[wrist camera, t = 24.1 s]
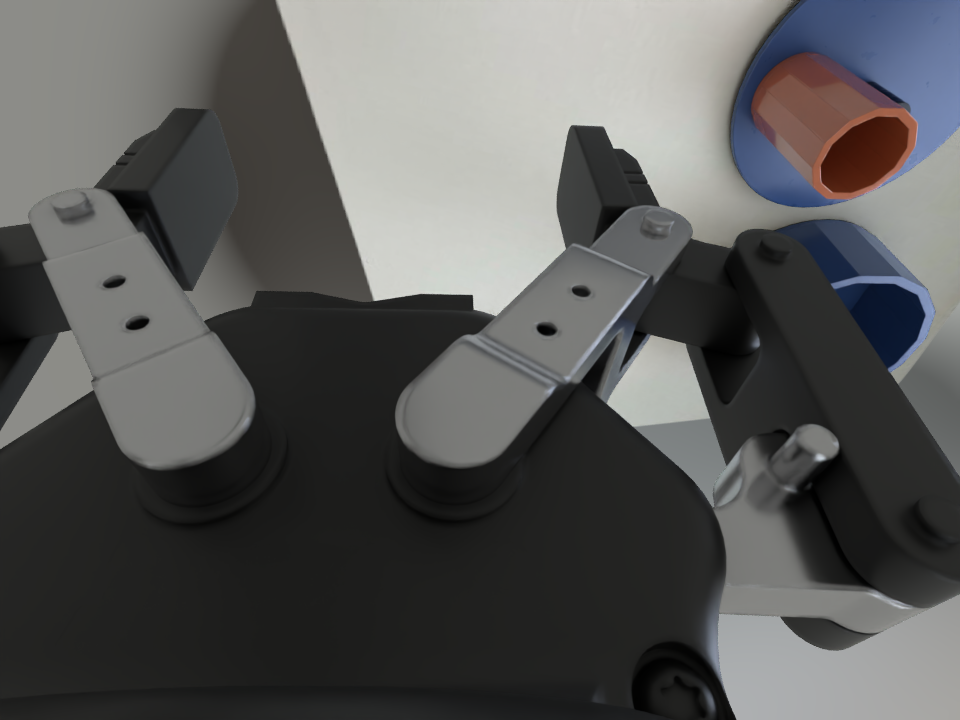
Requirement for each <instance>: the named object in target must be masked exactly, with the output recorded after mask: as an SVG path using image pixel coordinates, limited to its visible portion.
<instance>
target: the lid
mask: <svg viewBox="0 0 960 720" xmlns="http://www.w3.org/2000/svg"><path fill="white" fill-rule="evenodd" d="M805 52H815V53H819V54H822V55H826V56H828V57H829V58H831V59H832V60H834V61H835V62H837V63H838V64H840V65H841V66H843V67H844V68H846V69H847V70H848V71H850V72H851V73H853V74H854V75H856V76H857V77H859V78H860V79H862V80H863V81H865V82H866V83H868V84H869V85H871V86H872V87H874V88H875V89H877V90H878V91H880V92H881V93H883V94H884V95H885V96H887V97H888V98H890V99H891V100H893V101H894V102H896V103H897V104H899V105H900V106H902V107H903V108H905V109H906V110H907V111H908V112H909V113H910V115H911V116H912V117H913V118H914V119H915V120H916V121H917V122H918V130H917V140H916V146H915V148H914V150H913V151H912V153H911V154H910V156H909V157H908V159H907V160H906V162H905V163H904V165H903V166H902V168H901V169H900V170H899V171H898V172H897V173H896V174H894V175H893V176H892V177H891V178H889V179H888V180H887V181H886V182H884V183H883V184H882V185H881V186H879V187H878V188H880V187H882V186H883V185H885V184H887V183H889V182H891V181H893V180H895V179H896V178H898V177H899V176H901V175H902V174H904V173H906V172H907V171H909V170H910V169H912V168H913V167H914V166H916V165H917V164H918V163H920V162H921V161H923V160H924V159H925V158H926V157H928V156H929V155H930V154H931V153H932V152H934V151H935V150H936V149H937V148H938V147H939V146H941V145H942V144H943V143H944V142H945V141H946V140H947V139H948V138H949V137H950V136H951V135H952V134H953V133H954V132H955V131H956V130H957V129H958V128H959V126H960V0H801V1H800V2H799V3H798V4H797V5H796V6H795V7H794V8H793V9H792V10H791V11H790V12H789V13H788V14H787V15H786V16H785V17H784V18H783V20H782V21H781V22H780V23H779V25H778V26H777V27H776V28H775V29H774V31H773V32H772V33H771V34H770V36H769V37H768V39H767V40H766V41H765V43H764V44H763V46H762V47H761V49H760V50H759V52H758V53H757V55H756V57H755V59H754V60H753V62H752V64H751V66H750V67H749V69H748V71H747V73H746V76H745V78H744V80H743V83H742V85H741V87H740V90H739V93H738V96H737V99H736V102H735V105H734V111H733V116H732V121H731V148H732V154H733V157H734V161H735V164H736V166H737V168H738V171H739V173H740V174H741V176H742V177H743V179H744V180H745V181H746V183H747V184H748V185H749V186H750V187H751V188H752V189H753V190H754V191H755V192H756V193H758V194H759V195H761V196H762V197H764V198H766V199H768V200H770V201H772V202H775V203H777V204H782V205H786V206H792V207H819V206H826V205H832V204H836V203H840V202H844V201H848V199H826V198H825V197H824V196H822V195H821V194H820V193H819V192H818V191H816V190H815V189H814V188H813V187H812V186H811V185H810V184H809V183H808V182H807V181H806V180H805V179H804V177H803V176H802V175H801V174H800V173H799V172H798V171H797V170H796V169H795V168H794V167H793V166H792V165H791V164H790V163H789V162H788V160H787V159H786V158H785V157H784V156H783V155H782V154H781V153H780V152H779V151H778V150H777V149H776V148H775V147H774V146H773V144H772V143H771V142H770V141H769V140H768V139H767V138H766V137H765V136H764V135H763V134H762V133H761V132H760V131H759V130H758V129H757V127H756V126H755V123H754V122H753V119H752V115H751V104H752V99H753V96H754V93H755V91H756V89H757V87H758V85H759V84H760V82H761V81H762V79H763V78H764V77H765V76H766V75H767V73H768V72H769V71H770V70H771V69H772V68H774V67H775V66H776V65H777V64H779V63H780V62H782V61H783V60H785V59H787V58H789V57H791V56H793V55H796V54H799V53H805ZM878 188H877V189H878ZM875 190H876V189H875ZM870 192H871V191H870ZM867 193H869V192H867ZM867 193H865V194H867ZM862 195H864V194H862ZM862 195H860V196H862ZM857 197H859V196H857ZM855 198H856V197H855ZM852 199H853V198H852ZM849 200H850V199H849Z"/></svg>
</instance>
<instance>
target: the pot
mask: <svg viewBox="0 0 960 720" xmlns="http://www.w3.org/2000/svg"><path fill="white" fill-rule="evenodd" d="M775 232H779V233H782V234H784V235H787V236H789V237H791V238H793V239H795V240H796V241H798V242H799V243H801V244H802V245H803V246H804V247H805V248H806V249H807V250H808V251H809V252H810V254H811V255H812V257H813V258H814V260H815V261H816V263H817V264H818V266H819V267H820V269H821V270H822V272H823V273H824V275H825V276H826V278H827V279H828V281H829V282H830V284H831V285H832V287H833V288H834V290H835V291H836V293H837V294H838V296H839V297H840V299H841V300H842V302H843V303H844V305H845V306H846V308H847V309H848V311H849V312H850V314H851V315H852V317H853V318H854V320H855V321H856V323H857V324H858V326H859V327H860V329H861V330H862V332H863V333H864V335H865V336H866V338H867V339H868V341H869V342H870V343H871V345H872V346H873V348H874V349H875V351H876V352H877V354H878V355H879V357H880V358H881V360H882V361H883V363H884V364H885V366H886V367H887V369H888V370H889V372H892V371H893V370H895V369H896V368H898V367H899V366H901V365H902V364H903V363H904V362H905V361H906V360H907V358H908V357H909V356H910V355H911V354H912V353H913V352H914V351H915V350H916V349H917V348H918V346H919V345H920V344H921V343H922V342H923V341H924V340H925V339H926V337H927V334H928V332H929V329H930V326H931V323H932V321H933V318H934V315H935V313H936V312H935V309H934V306H933V303H932V300H931V298H930V295H929V292H928V289H927V288H926V287H925V286H924V285H923V284H922V283H921V282H920V281H919V280H918V279H917V278H916V277H915V276H914V275H913V274H912V273H911V272H910V271H909V270H908V269H907V268H906V267H905V266H904V265H903V264H902V263H901V262H900V261H899V260H898V259H897V258H896V257H895V256H894V255H893V254H892V253H891V252H890V251H889V250H888V249H887V248H886V247H885V246H884V245H883V243H882V242H881V241H880V240H879V239H878V238H877V237H876V236H874V235H872V234H871V233H869V232H868V231H866V230H865V229H863V228H862V227H860V226H858V225H855V224H853V223H850V222H845V221H841V220H813V221H807V222H801V223H797V224H793V225H790V226H787V227H784V228H781V229H778V230H776V231H775Z"/></svg>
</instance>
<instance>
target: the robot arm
mask: <svg viewBox="0 0 960 720" xmlns="http://www.w3.org/2000/svg"><path fill="white" fill-rule="evenodd" d="M124 154H125V155H122V156H121V157H120V158H119V159H118V160H117V162H116V165H113V166H112V167H111V168H110V169H109V171H108V172H107V173H106V174H105V175H104V176H103V177H102V179H101V180H100V181H99V182H98V183H97V184H96V185H95V187H94V188H79V189H72V190H67V191H63V192H59V193H56V194H53V195H51V196H49V197H46V198H44V199H43V200H41V201H39V202H38V203H37V204H35V205H34V206H33V207H32V208H31V210H30V212H29V214H28V218H29V221H30V223H29V224H23V225H16V226H8V227H2V228H0V430H1V428H2V427H3V425H4V424H5V422H6V420H7V419H8V417H9V415H10V414H11V412H12V411H13V409H14V407H15V406H16V404H17V402H18V401H19V399H20V398H21V396H22V394H23V393H24V391H25V389H26V388H27V386H28V385H29V383H30V381H31V380H32V378H33V376H34V375H35V373H36V372H37V370H38V368H39V367H40V365H41V363H42V362H43V360H44V358H45V357H46V355H47V353H48V352H49V350H50V349H51V347H52V345H53V344H54V342H55V340H56V339H57V336H58V333H59V332H64V331H69V330H72V331H73V334H74V336H75V338H76V340H77V343H78V345H79V347H80V349H81V351H82V354H83V356H84V358H85V361H86V363H87V365H88V367H89V369H90V372H91V374H92V377H93V380H92V381H91V382H92V386H93V389H94V390H93V391H91V392H90V393H88V394H87V395H85V396H84V397H82V398H80V399H79V400H77V401H76V402H74V403H72V404H71V405H69V406H68V407H67V408H65V409H63V410H62V411H60V412H58V413H57V414H55V415H54V416H52V417H51V418H49V419H47V420H46V421H44V422H43V423H41V424H39V425H38V426H36V427H35V428H33V429H32V430H30V431H28V432H27V433H25V434H24V435H22V436H20V437H19V438H17V439H16V440H14V441H13V442H11V443H9V444H8V445H6V446H5V447H3V448H2V449H0V720H736V718H735V715H734V713H733V711H732V708H731V706H730V704H729V701H728V698H727V696H726V693H725V690H724V686H723V682H722V678H721V672H720V665H719V654H718V618H719V614H736V615H759V616H760V615H761V616H780V617H781V619H782V620H783V621H784V623H785V624H786V625H787V626H788V627H789V628H790V629H791V630H792V631H793V632H794V633H795V634H796V635H798V636H799V637H800V638H802V639H803V640H805V641H806V642H808V643H810V644H812V645H814V646H816V647H819V648H822V649H827V650H843V649H846V648H849V647H851V646H853V645H855V644H857V643H859V642H861V641H864V640H866V639H868V638H870V637H872V636H874V635H876V634H878V633H880V632H882V631H884V630H886V629H888V628H891V627H893V626H894V625H897V624H899V623H901V622H903V621H905V620H907V619H909V618H911V617H913V616H915V615H917V614H920V613H922V612H924V611H926V610H928V609H930V608H932V607H934V606H936V605H938V604H940V603H942V602H945V601H947V600H949V599H951V598H953V597H955V596H957V595H959V594H960V477H959V475H958V474H957V472H956V471H955V469H954V468H953V466H952V465H951V463H950V462H949V460H948V459H947V457H946V456H945V454H944V453H943V451H942V450H941V448H940V447H939V445H938V444H937V442H936V441H935V439H934V438H933V436H932V435H931V433H930V432H929V430H928V429H927V427H926V426H925V424H924V423H923V421H922V420H921V418H920V417H919V415H918V414H917V412H916V411H915V409H914V408H913V406H912V405H911V403H910V402H909V400H908V399H907V397H906V396H905V394H904V393H903V391H902V390H901V388H900V387H899V385H898V384H897V382H896V381H895V379H894V378H893V376H892V375H891V373H890V372H889V370H888V369H887V367H886V366H885V364H884V363H883V361H882V360H881V358H880V357H879V355H878V354H877V352H876V351H875V349H874V348H873V346H872V345H871V343H870V342H869V341H868V339H867V338H866V336H865V335H864V333H863V332H862V330H861V329H860V327H859V326H858V324H857V323H856V321H855V320H854V318H853V317H852V315H851V314H850V312H849V311H848V309H847V308H846V306H845V305H844V303H843V302H842V300H841V299H840V297H839V296H838V294H837V293H836V291H835V290H834V288H833V287H832V285H831V284H830V282H829V281H828V279H827V278H826V276H825V275H824V273H823V272H822V270H821V269H820V267H819V266H818V264H817V263H816V261H815V260H814V258H813V257H812V255H811V254H810V252H809V251H808V250H807V249H806V248H805V247H804V246H803V245H802V244H801V243H799V242H798V241H796V240H795V239H793V238H791V237H789V236H787V235H784V234H782V233H779V232H775V231H771V230H764V229H752V230H747V231H744V232H742V233H740V234H739V235H738V236H737V238H736V240H735V242H734V244H733V246H732V248H727V247H722V246H717V245H713V244H708V243H704V242H700V241H697V240H694V239H692V238H691V237H692V233H693V230H692V227H691V224H690V223H689V222H688V221H687V220H686V219H685V218H684V217H682V216H681V215H680V214H678V213H676V212H674V211H671V210H669V209H666V208H662V207H660V206H659V204H658V202H657V200H656V198H655V196H654V194H653V192H652V190H651V188H650V186H649V184H647V183H648V182H647V180H646V177H645V175H644V174H643V171H642V169H641V167H640V165H639V163H638V161H637V160H636V159H635V158H634V157H632V156H631V155H630V154H629V153H627V152H626V151H625V150H623V149H613V147H612V144H611V142H610V140H609V138H608V135H607V133H606V131H605V129H604V127H601V126H577V125H572V126H571V127H570V129H569V132H568V136H567V141H566V146H565V152H564V157H563V163H562V168H561V174H560V179H559V185H558V191H557V214H558V218H559V222H560V226H561V230H562V234H563V238H564V242H565V247H566V250H565V251H564V252H563V253H562V254H561V255H560V256H559V257H558V258H557V259H555V260H554V261H553V262H552V263H551V264H550V265H549V266H548V267H547V268H546V269H545V270H544V271H543V272H542V273H541V274H540V275H539V276H538V277H537V278H536V279H535V280H534V281H533V282H532V283H531V284H529V285H528V286H527V287H526V288H525V289H524V290H523V291H522V292H521V293H520V294H519V295H518V296H517V297H516V298H515V299H514V300H513V301H512V302H511V303H510V304H509V305H508V306H507V307H506V308H505V309H503V310H502V311H501V312H500V313H499V314H498V315H497V316H494V315H491V314H488V313H485V312H481V311H477V310H473V295H442V294H418V295H412V296H405V297H399V298H392V299H386V300H379V301H373V302H358V301H353V300H348V299H343V298H338V297H333V296H328V295H323V294H318V293H313V292H282V291H277V292H276V291H256V294H255V297H254V299H253V302H252V305H251V306H250V307H245V308H240V309H236V310H232V311H229V312H226V313H223V314H220V315H217V316H215V317H212V318H210V319H208V320H205V321H203V319H202V318H201V316H200V315H199V313H198V312H197V310H196V309H195V307H194V306H193V305H192V303H191V302H190V300H189V299H188V297H187V296H186V294H185V293H184V291H192V290H193V289H194V287H195V285H196V283H197V280H198V279H199V277H200V275H201V273H202V271H203V269H204V267H205V265H206V263H207V261H208V259H209V257H210V255H211V253H212V251H213V249H214V247H215V245H216V243H217V241H218V239H219V237H220V235H221V233H222V231H223V229H224V227H225V225H226V223H227V221H228V219H229V217H230V215H231V213H232V211H233V209H234V207H235V205H236V203H237V199H238V184H237V178H236V174H235V171H234V168H233V164H232V161H231V158H230V154H229V151H228V148H227V145H226V141H225V138H224V135H223V131H222V128H221V124H220V122H219V119H218V117H217V115H216V114H215V112H214V111H212V110H209V109H185V108H176V109H174V110H173V111H172V112H171V113H170V114H169V115H168V117H167V118H166V119H165V120H164V121H163V123H162V124H161V125H160V126H159V128H157V130H154V131H152V132H150V133H148V134H146V135H144V136H142V137H140V138H139V139H137V140H135V141H134V142H133V143H132V144H131V145H130V147H129V148H128V149H127V150H126V151H125V152H124ZM650 335H654V336H658V337H662V338H666V339H670V340H674V341H678V342H682V343H686V347H687V350H688V353H689V356H690V359H691V362H692V365H693V368H694V371H695V374H696V377H697V380H698V383H699V386H700V389H701V392H702V395H703V398H704V401H705V404H706V407H707V410H708V413H709V416H710V419H711V422H712V424H713V427H714V430H715V433H716V436H717V439H718V442H719V445H720V448H721V451H722V454H723V457H724V460H725V463H726V466H727V467H726V468H725V469H724V470H723V472H722V473H721V474H720V476H719V477H718V478H717V480H716V482H715V484H714V488H713V499H714V506H715V507H713V508H712V506H711V505H710V503H709V501H708V500H707V498H706V497H705V495H704V494H703V492H702V491H701V490H700V488H699V487H698V486H697V485H696V484H695V482H694V481H693V480H692V479H691V478H690V477H689V476H688V475H687V474H686V473H685V472H684V471H683V470H682V469H680V468H679V467H678V466H677V465H676V464H675V463H674V462H673V461H671V460H670V459H669V458H668V457H667V456H666V455H665V454H663V453H662V452H661V451H660V450H659V449H658V448H657V447H655V446H654V445H653V444H652V443H651V442H650V441H649V440H647V439H646V438H645V437H644V436H642V434H640V433H639V432H638V431H637V430H636V429H635V428H634V427H632V426H631V425H630V424H629V423H628V422H627V421H626V420H624V419H623V418H622V417H621V416H620V415H619V414H618V413H616V412H615V411H614V410H613V409H612V408H611V407H610V406H608V405H607V404H606V403H607V401H608V399H609V397H610V395H611V394H612V392H613V390H614V388H615V387H616V385H617V384H618V382H619V381H620V379H621V378H622V377H623V375H624V374H625V372H626V371H627V369H628V368H629V367H630V365H631V364H632V362H633V361H634V359H635V358H636V357H637V355H638V354H639V352H640V351H641V349H642V348H643V346H644V345H645V344H646V342H647V341H648V339H649V337H650Z"/></svg>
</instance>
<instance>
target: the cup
mask: <svg viewBox="0 0 960 720" xmlns="http://www.w3.org/2000/svg"><path fill="white" fill-rule="evenodd" d="M751 115H752V119H753V122H754V123H755V126H756V127H757V129H758V130H759V131H760V132H761V133H762V134H763V135H764V136H765V137H766V138H767V139H768V140H769V141H770V142H771V143H772V144H773V146H774V147H775V148H776V149H777V150H778V151H779V152H780V153H781V154H782V155H783V156H784V157H785V158H786V159H787V160H788V162H789V163H790V164H791V165H792V166H793V167H794V168H795V169H796V170H797V171H798V172H799V173H800V174H801V175H802V176H803V177H804V179H805V180H806V181H807V182H808V183H809V184H810V185H811V186H812V187H813V188H814V189H815V190H816V191H818V192H819V193H820V194H821V195H822V196H824V197H825V198H826V199H848V200H849V199H852V198H855V197H857V196H860V195H862V194H865V193H867V192H870V191H873V190H875V189H877V188H878V187H879V186H881V185H882V184H883V183H884V182H886V181H887V180H888V179H889V178H891V177H892V176H893V175H894V174H896V173H897V172H898V171H899V170H900V169H901V168H902V166H903V165H904V163H905V162H906V160H907V159H908V157H909V156H910V154H911V153H912V151H913V150H914V148H915V146H916V140H917V130H918V122H917V121H916V120H915V119H914V118H913V117H912V116H911V115H910V113H909V112H908V111H907V110H906V109H905V108H903V107H902V106H900V105H899V104H897V103H896V102H894V101H893V100H891V99H890V98H888V97H887V96H885V95H884V94H883V93H881V92H880V91H878V90H877V89H875V88H874V87H872V86H871V85H869V84H868V83H866V82H865V81H863V80H862V79H860V78H859V77H857V76H856V75H854V74H853V73H851V72H850V71H848V70H847V69H846V68H844V67H843V66H841V65H840V64H838V63H837V62H835V61H834V60H832V59H831V58H829V57H828V56H826V55H822V54H819V53H815V52H805V53H799V54H796V55H793V56H791V57H789V58H787V59H785V60H783V61H782V62H780V63H779V64H777V65H776V66H775V67H774V68H772V69H771V70H770V71H769V72H768V73H767V75H766V76H765V77H764V78H763V79H762V81H761V82H760V84H759V85H758V87H757V89H756V91H755V93H754V96H753V99H752V104H751Z"/></svg>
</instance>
